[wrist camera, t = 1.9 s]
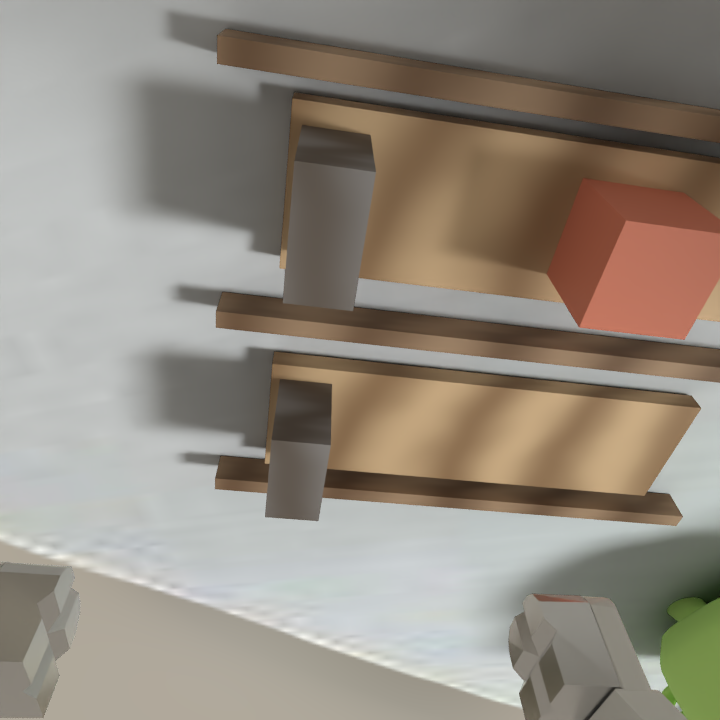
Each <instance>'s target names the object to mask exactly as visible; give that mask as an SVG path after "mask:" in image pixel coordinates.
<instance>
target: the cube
mask: <svg viewBox="0 0 720 720" xmlns="http://www.w3.org/2000/svg"><path fill="white" fill-rule="evenodd" d="M547 276H548V277H549V279H550V280H551V282H552V284H553V285H554V287H555V289H556V290H557V292H558V294H559V295H560V297H561V298H562V300H563V302H564V303H565V305H566V307H567V308H568V310H569V312H570V313H571V315H572V317H573V318H574V320H575V321H576V323H577V325H578V326H579V327H580V328H589V329H597V330H606V331H614V332H623V333H631V334H640V335H648V336H657V337H665V338H674V339H683V340H685V338H686V336H687V334H688V333H689V331H690V329H691V327H692V326H693V324H694V322H695V320H696V319H697V317H698V315H699V314H700V312H701V310H702V308H703V307H704V305H705V303H706V301H707V300H708V298H709V296H710V294H711V293H712V291H713V289H714V287H715V286H716V284H717V282H718V280H719V279H720V219H719V218H717V217H716V216H715V215H713V214H712V213H710V212H709V211H708V210H706V209H705V208H704V207H702V206H701V205H700V204H698V203H697V202H696V201H694V200H693V199H692V198H690V197H689V196H688V195H686V194H685V193H682V192H676V191H669V190H662V189H655V188H648V187H641V186H635V185H628V184H621V183H614V182H607V181H600V180H594V179H587V178H583V179H582V182H581V185H580V187H579V190H578V193H577V195H576V198H575V201H574V203H573V206H572V209H571V211H570V214H569V216H568V219H567V222H566V224H565V227H564V230H563V232H562V235H561V238H560V240H559V243H558V246H557V248H556V251H555V254H554V256H553V259H552V262H551V264H550V267H549V270H548V272H547Z"/></svg>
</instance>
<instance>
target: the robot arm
mask: <svg viewBox="0 0 720 720" xmlns="http://www.w3.org/2000/svg"><path fill="white" fill-rule="evenodd" d="M74 579H75V577H74V573H73V570H72V567H71V566H53V565H37V564H21V563H9V562H0V718H43V717H44V715H45V712H46V710H47V707H48V704H49V702H50V699H51V696H52V694H53V691H54V689H55V686H56V683H57V681H58V678H59V672H58V668H57V665H56V660H57V659H58V658H59V657H61V656H62V655H63V654H64V653H65V652H66V651H67V650H68V649H69V648H70V646H71V644H72V641H73V638H74V635H75V632H76V628H77V623H78V619H79V615H80V598H79V593H78V592H77V591H75V590H74V589H72V588H71V586H72V584H73V581H74ZM522 604H523V608H524V612H523V613H521V614H519V615H517V616H515V618H514V620H513V622H512V624H511V626H510V631H509V641H508V642H509V652H510V657H511V662H512V666H513V669H514V670H515V671H516V672H517V673H518V675H519V676H520V677H521V678H522V679H523V680H524V682H523V685H522V687H521V690H520V692H519V695H520V699H521V703H522V708H523V712H524V715H525V720H688V719H687V718H686V717H685V716H684V715H683V714H682V713H681V712H680V711H679V710H678V709H677V708H676V707H675V706H674V705H673V704H672V703H671V702H670V701H669V700H668V699H667V698H666V697H665V696H664V695H663V694H662V693H661V692H660V691H658V690H651V688H650V685H649V683H648V681H647V678H646V676H645V674H644V671H643V669H642V667H641V664H640V662H639V660H638V657H637V655H636V653H635V650H634V648H633V646H632V643H631V641H630V639H629V636H628V634H627V632H626V629H625V627H624V624H623V622H622V620H621V617H620V615H619V613H618V610H617V608H616V606H615V604H614V603H613V602H612V601H611V600H610V599H608V598H605V597H587V596H578V595H553V594H530V595H528V596H526V598H525V600H524V601H523V603H522Z"/></svg>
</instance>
